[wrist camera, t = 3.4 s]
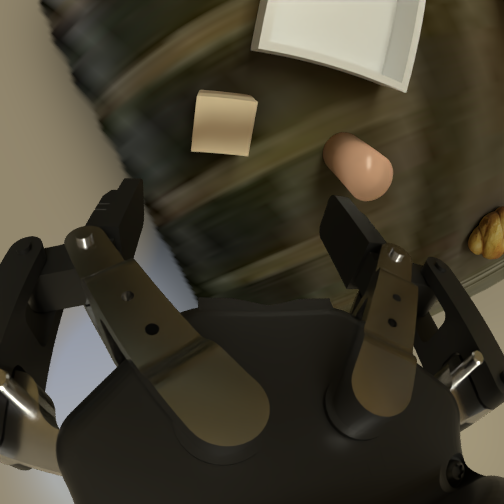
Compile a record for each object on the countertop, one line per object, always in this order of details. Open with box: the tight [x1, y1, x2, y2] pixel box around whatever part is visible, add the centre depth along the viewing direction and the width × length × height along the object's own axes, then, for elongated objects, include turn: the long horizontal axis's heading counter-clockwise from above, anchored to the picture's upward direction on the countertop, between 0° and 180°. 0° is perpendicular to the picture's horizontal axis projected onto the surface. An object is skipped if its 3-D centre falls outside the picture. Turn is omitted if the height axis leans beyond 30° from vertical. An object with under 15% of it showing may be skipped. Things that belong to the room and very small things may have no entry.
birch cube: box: [191, 90, 258, 156], centre depth 24 cm, size 5×5×5 cm
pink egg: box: [323, 132, 393, 201], centre depth 27 cm, size 5×5×7 cm
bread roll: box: [468, 206, 504, 259], centre depth 38 cm, size 13×10×8 cm
